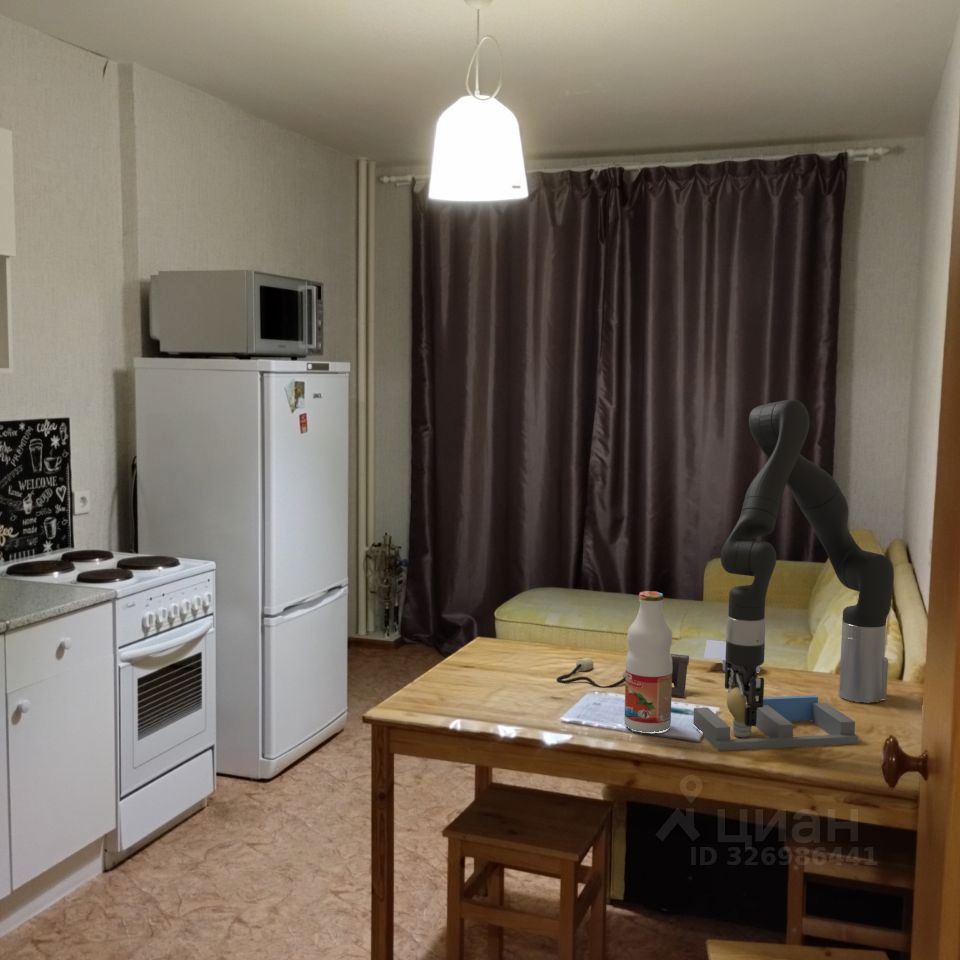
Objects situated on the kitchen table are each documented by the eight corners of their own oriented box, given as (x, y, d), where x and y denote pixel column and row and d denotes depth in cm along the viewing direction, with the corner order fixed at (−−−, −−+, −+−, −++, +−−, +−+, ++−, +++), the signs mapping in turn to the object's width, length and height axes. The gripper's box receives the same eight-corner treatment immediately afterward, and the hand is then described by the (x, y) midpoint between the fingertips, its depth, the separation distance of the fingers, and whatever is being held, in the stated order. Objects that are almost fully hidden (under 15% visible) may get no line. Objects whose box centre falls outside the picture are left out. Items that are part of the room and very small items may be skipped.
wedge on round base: (702, 671, 256) (757, 677, 251) (703, 644, 256) (758, 649, 251) (709, 661, 265) (762, 667, 260) (710, 635, 264) (763, 641, 259)
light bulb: (759, 742, 207) (761, 693, 206) (725, 739, 209) (727, 690, 208) (757, 731, 214) (759, 683, 213) (725, 728, 215) (726, 681, 214)
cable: (609, 696, 237) (609, 681, 237) (549, 682, 247) (549, 668, 247) (643, 680, 250) (643, 666, 249) (584, 668, 260) (585, 654, 259)
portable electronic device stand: (644, 694, 238) (645, 658, 237) (650, 684, 245) (651, 649, 244) (683, 698, 235) (684, 662, 234) (688, 688, 242) (690, 653, 241)
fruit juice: (678, 733, 212) (682, 597, 209) (634, 736, 210) (638, 599, 207) (659, 718, 221) (663, 587, 218) (617, 721, 219) (620, 589, 216)
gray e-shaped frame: (821, 718, 222) (822, 695, 222) (857, 743, 207) (859, 719, 207) (690, 723, 218) (690, 700, 217) (717, 750, 203) (718, 725, 202)
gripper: (778, 648, 203) (775, 730, 204) (748, 629, 217) (745, 707, 218) (741, 649, 201) (738, 732, 203) (714, 630, 216) (711, 708, 217)
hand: (742, 719), depth 211 cm, fingers open, 7 cm apart
